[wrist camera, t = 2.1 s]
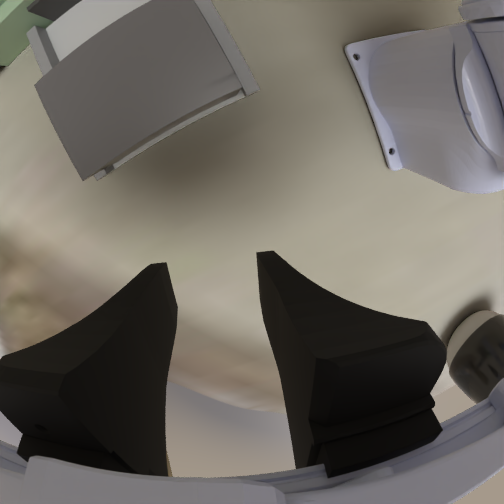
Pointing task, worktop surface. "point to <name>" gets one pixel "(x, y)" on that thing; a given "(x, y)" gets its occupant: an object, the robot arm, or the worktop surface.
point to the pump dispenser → (477, 354)
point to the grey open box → (135, 83)
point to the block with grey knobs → (87, 25)
